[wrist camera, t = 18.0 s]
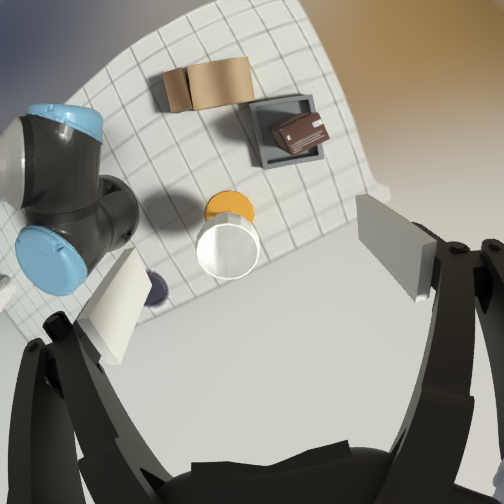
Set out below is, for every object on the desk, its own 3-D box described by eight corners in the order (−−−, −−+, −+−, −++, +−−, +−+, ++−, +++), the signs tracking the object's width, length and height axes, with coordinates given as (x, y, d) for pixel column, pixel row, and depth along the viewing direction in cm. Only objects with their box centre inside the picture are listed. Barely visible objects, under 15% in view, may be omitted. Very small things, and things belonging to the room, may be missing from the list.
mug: (13, 298, 57) (-7, 322, 46) (0, 281, 54) (-21, 304, 43) (23, 284, 55) (1, 309, 44) (9, 266, 52) (-15, 289, 41)
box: (279, 149, 45) (292, 157, 34) (266, 127, 43) (276, 127, 32) (309, 135, 44) (331, 138, 33) (297, 112, 42) (317, 109, 31)
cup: (198, 226, 51) (184, 268, 37) (216, 182, 48) (208, 209, 33) (241, 243, 53) (244, 290, 39) (262, 202, 50) (273, 236, 35)
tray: (262, 167, 47) (264, 169, 45) (248, 105, 42) (249, 103, 40) (319, 157, 46) (324, 159, 44) (308, 95, 41) (312, 94, 39)
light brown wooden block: (196, 111, 42) (193, 110, 39) (189, 70, 39) (187, 66, 36) (253, 101, 42) (254, 100, 39) (247, 60, 38) (248, 56, 36)
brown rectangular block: (177, 113, 42) (171, 112, 37) (169, 78, 38) (162, 73, 34) (194, 108, 41) (189, 106, 37) (185, 73, 38) (180, 67, 34)
